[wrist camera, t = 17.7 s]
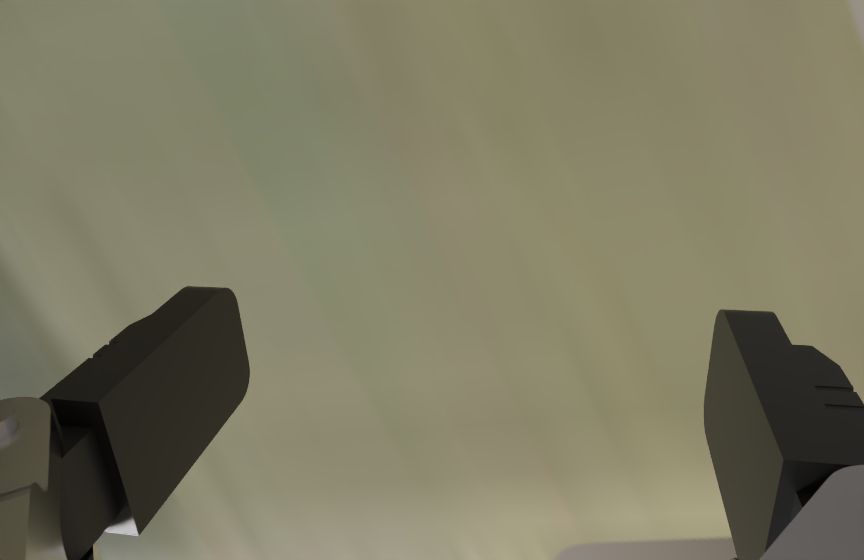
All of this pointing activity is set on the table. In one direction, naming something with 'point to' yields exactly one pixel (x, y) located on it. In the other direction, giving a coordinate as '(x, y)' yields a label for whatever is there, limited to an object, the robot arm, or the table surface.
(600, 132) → the table surface
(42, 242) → the table surface
